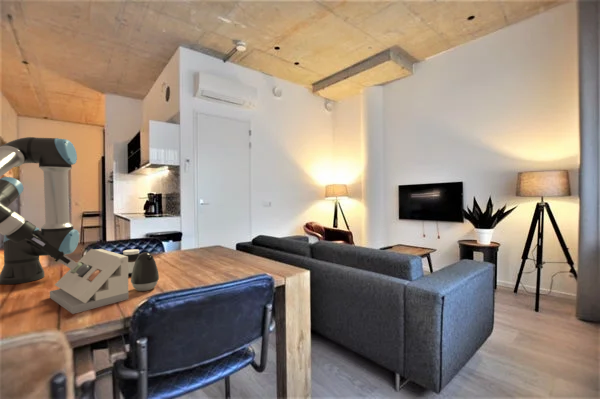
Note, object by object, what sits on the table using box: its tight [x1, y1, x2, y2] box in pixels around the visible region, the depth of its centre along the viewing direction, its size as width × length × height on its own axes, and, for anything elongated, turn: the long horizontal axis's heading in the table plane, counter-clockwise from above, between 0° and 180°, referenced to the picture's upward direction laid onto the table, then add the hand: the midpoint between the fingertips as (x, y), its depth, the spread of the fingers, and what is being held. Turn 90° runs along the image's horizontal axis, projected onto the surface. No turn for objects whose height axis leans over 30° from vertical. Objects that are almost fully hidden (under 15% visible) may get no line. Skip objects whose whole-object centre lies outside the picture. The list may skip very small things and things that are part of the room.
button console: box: [49, 248, 129, 315], centre depth 110 cm, size 25×17×17 cm
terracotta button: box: [89, 270, 101, 281], centre depth 104 cm, size 4×4×4 cm
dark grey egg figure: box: [130, 252, 160, 292], centre depth 121 cm, size 10×10×15 cm
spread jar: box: [122, 248, 141, 277], centre depth 142 cm, size 12×11×12 cm
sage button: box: [71, 263, 83, 273], centre depth 114 cm, size 4×4×4 cm
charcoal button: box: [76, 264, 91, 277], centre depth 108 cm, size 4×4×4 cm
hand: (75, 266), depth 113 cm, fingers closed
